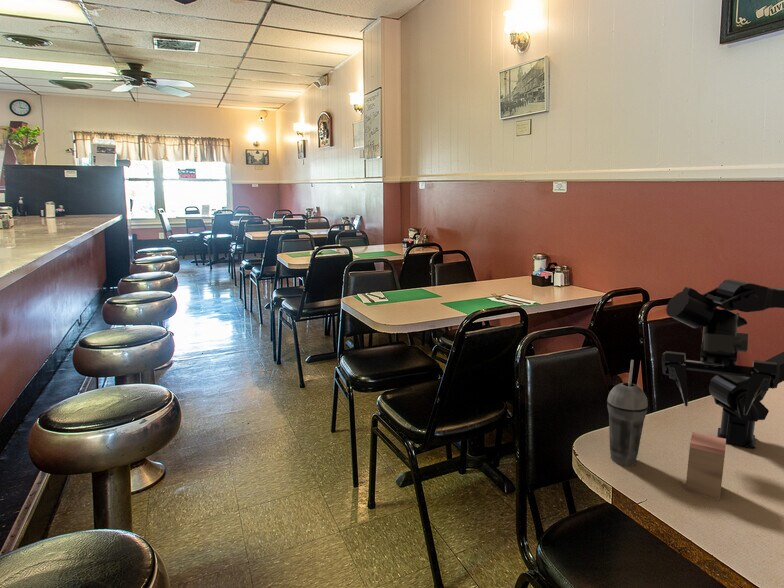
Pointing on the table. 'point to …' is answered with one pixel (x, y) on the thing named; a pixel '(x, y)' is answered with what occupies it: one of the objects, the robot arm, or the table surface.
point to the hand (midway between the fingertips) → (714, 409)
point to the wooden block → (705, 465)
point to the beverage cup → (626, 420)
